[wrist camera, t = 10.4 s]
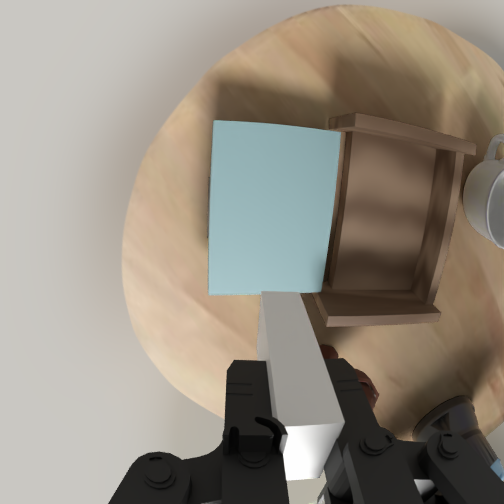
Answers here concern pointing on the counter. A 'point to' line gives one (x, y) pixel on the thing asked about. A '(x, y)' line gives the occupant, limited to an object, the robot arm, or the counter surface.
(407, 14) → the counter surface
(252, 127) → the pale blue slab
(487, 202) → the teacup
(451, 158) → the drawer box
